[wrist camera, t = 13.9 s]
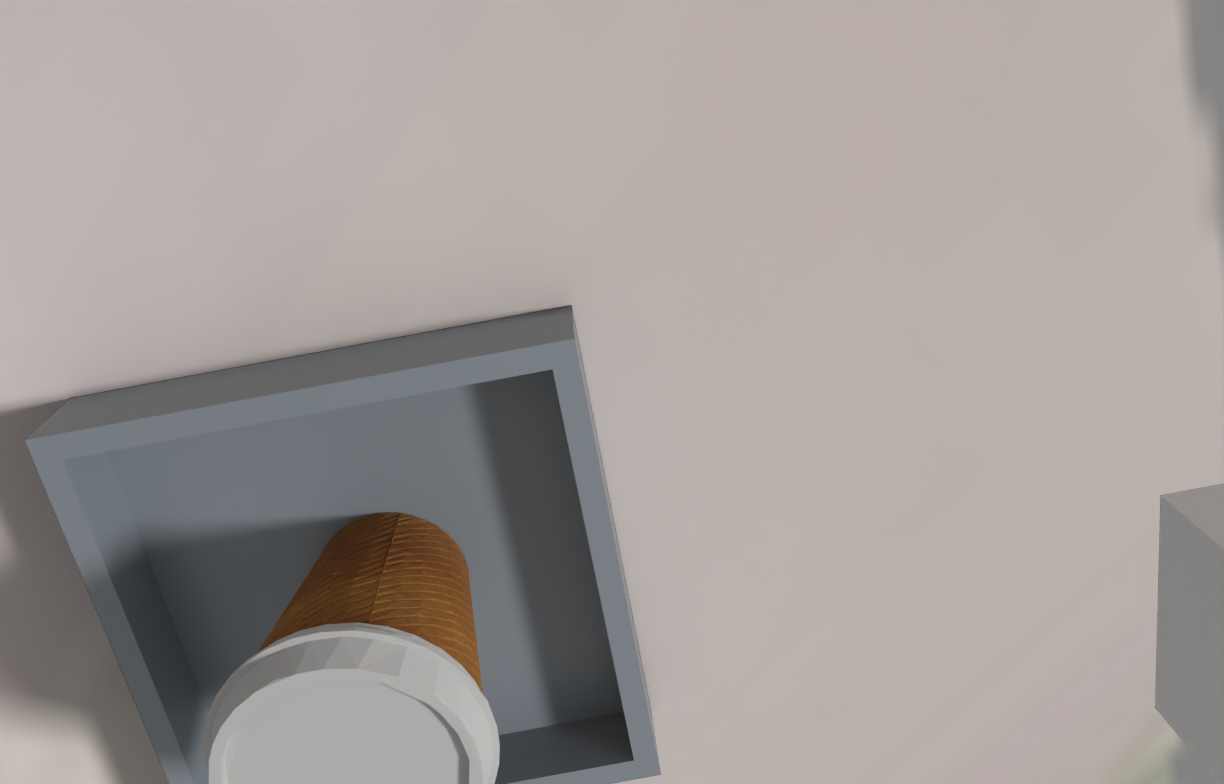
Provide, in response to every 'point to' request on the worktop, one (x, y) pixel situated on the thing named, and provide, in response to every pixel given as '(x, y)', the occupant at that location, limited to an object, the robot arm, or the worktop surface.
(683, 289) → the worktop surface
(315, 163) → the worktop surface
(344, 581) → the disposable coffee cup
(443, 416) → the bin
